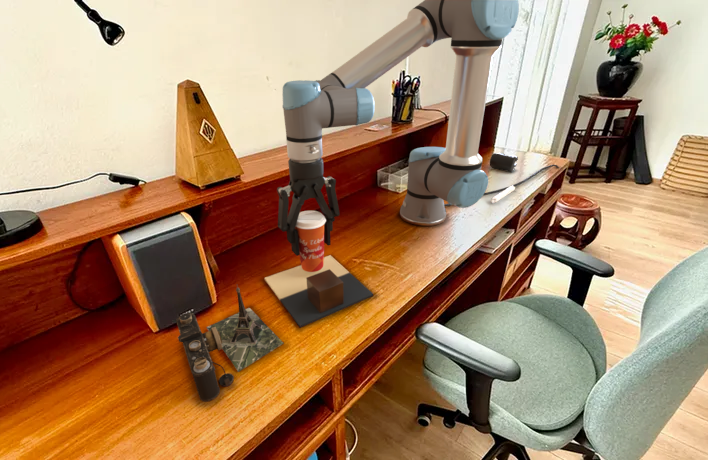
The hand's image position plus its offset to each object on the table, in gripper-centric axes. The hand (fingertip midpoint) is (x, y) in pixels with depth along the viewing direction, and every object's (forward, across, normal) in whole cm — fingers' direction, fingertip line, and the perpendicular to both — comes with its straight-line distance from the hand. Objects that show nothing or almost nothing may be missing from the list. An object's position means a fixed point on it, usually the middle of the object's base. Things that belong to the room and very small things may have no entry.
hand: (311, 247), depth 89 cm
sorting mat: (+8, -2, -6) cm, 10 cm away
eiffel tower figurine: (+8, -22, -12) cm, 26 cm away
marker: (+8, +82, +4) cm, 82 cm away
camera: (+8, -30, -15) cm, 34 cm away
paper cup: (+6, 0, 0) cm, 6 cm away
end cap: (+8, +108, +24) cm, 111 cm away
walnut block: (+7, -3, -12) cm, 14 cm away
